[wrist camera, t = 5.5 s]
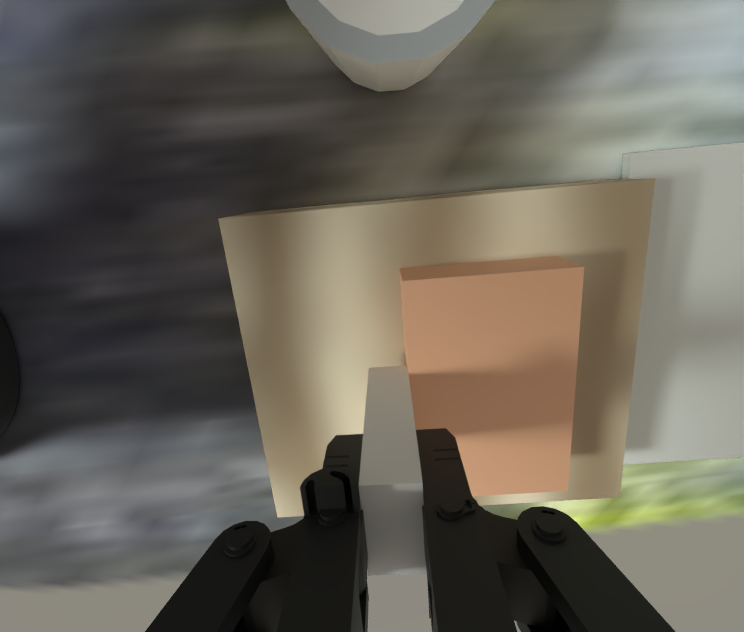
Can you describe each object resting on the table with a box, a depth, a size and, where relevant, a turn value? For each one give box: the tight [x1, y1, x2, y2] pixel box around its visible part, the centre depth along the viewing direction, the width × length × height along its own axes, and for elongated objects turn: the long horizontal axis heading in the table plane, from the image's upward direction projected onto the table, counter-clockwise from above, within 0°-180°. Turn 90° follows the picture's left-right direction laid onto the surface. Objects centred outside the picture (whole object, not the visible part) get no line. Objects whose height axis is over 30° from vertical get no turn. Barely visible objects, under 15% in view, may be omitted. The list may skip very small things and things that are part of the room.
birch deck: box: [218, 178, 655, 517], centre depth 19 cm, size 16×14×4 cm
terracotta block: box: [399, 256, 584, 496], centre depth 16 cm, size 6×9×2 cm, turn 5°
